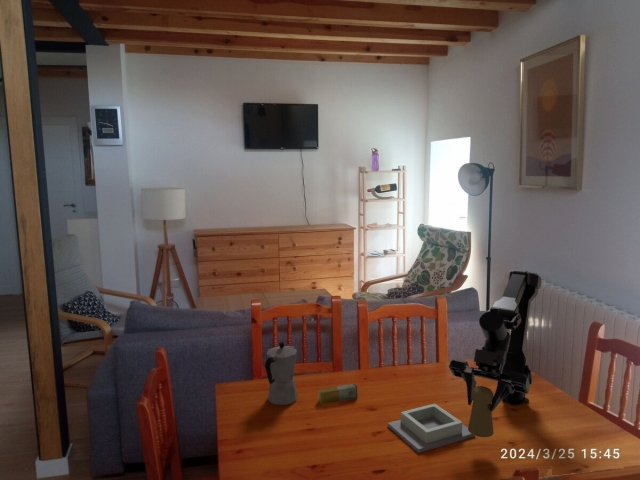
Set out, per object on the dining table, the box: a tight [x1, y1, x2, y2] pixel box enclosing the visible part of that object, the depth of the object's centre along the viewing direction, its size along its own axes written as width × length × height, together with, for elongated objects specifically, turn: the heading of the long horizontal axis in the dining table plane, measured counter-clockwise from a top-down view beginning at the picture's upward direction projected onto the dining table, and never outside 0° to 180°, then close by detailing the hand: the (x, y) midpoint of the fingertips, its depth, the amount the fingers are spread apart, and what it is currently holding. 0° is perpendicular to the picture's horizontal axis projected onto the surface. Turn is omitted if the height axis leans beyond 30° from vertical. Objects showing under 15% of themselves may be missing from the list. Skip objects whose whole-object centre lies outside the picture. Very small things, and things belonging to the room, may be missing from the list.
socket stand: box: [387, 403, 476, 454], centre depth 131 cm, size 18×14×4 cm
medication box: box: [318, 383, 358, 405], centre depth 149 cm, size 12×3×4 cm, turn 109°
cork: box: [467, 385, 495, 438], centre depth 120 cm, size 6×6×11 cm
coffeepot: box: [264, 341, 298, 406], centre depth 148 cm, size 15×9×18 cm, turn 153°
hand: (479, 407), depth 119 cm, fingers closed on cork, 5 cm apart
